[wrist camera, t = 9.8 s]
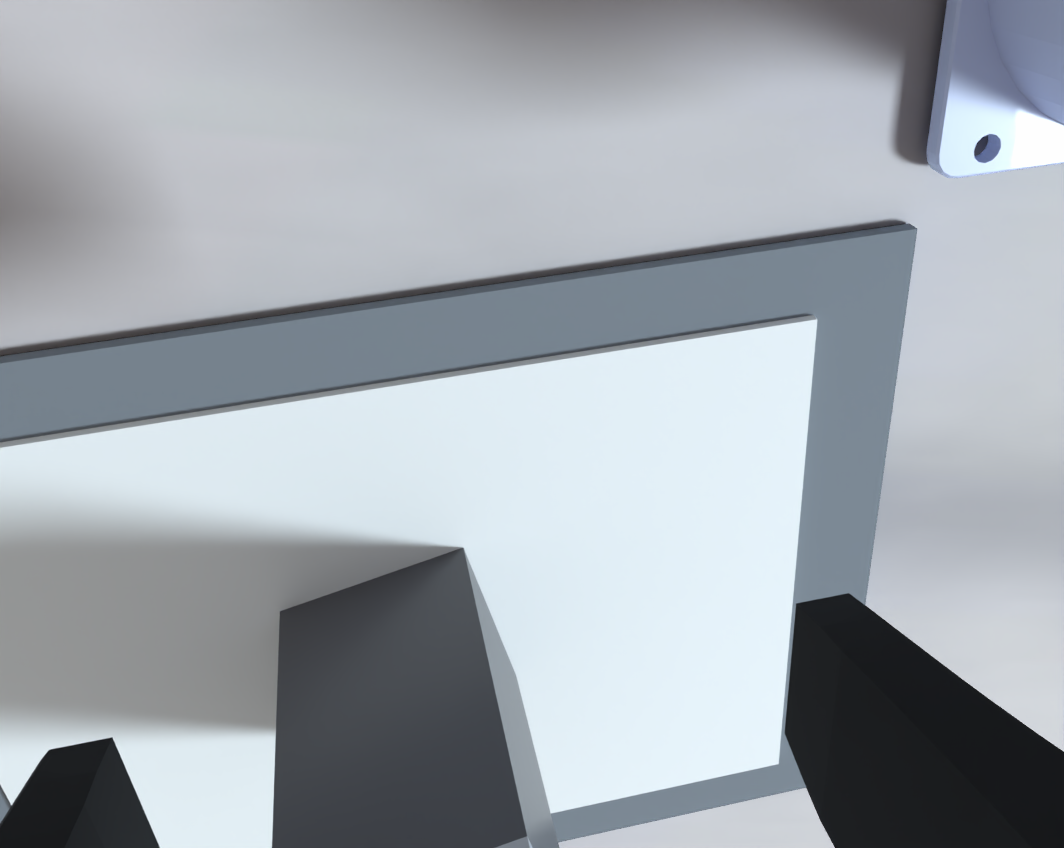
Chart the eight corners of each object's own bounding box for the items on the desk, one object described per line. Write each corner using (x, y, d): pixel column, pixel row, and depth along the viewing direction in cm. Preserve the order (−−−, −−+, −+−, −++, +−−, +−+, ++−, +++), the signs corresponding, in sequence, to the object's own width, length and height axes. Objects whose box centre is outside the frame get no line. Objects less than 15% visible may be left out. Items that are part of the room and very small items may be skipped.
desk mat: (909, 223, 19) (922, 232, 19) (836, 771, 28) (844, 785, 27) (-324, 403, 16) (-340, 418, 16) (11, 952, 25) (6, 971, 24)
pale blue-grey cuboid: (463, 547, 20) (555, 967, 13) (516, 675, 23) (622, 1099, 15) (280, 611, 20) (264, 1071, 13) (350, 734, 23) (372, 1190, 15)
